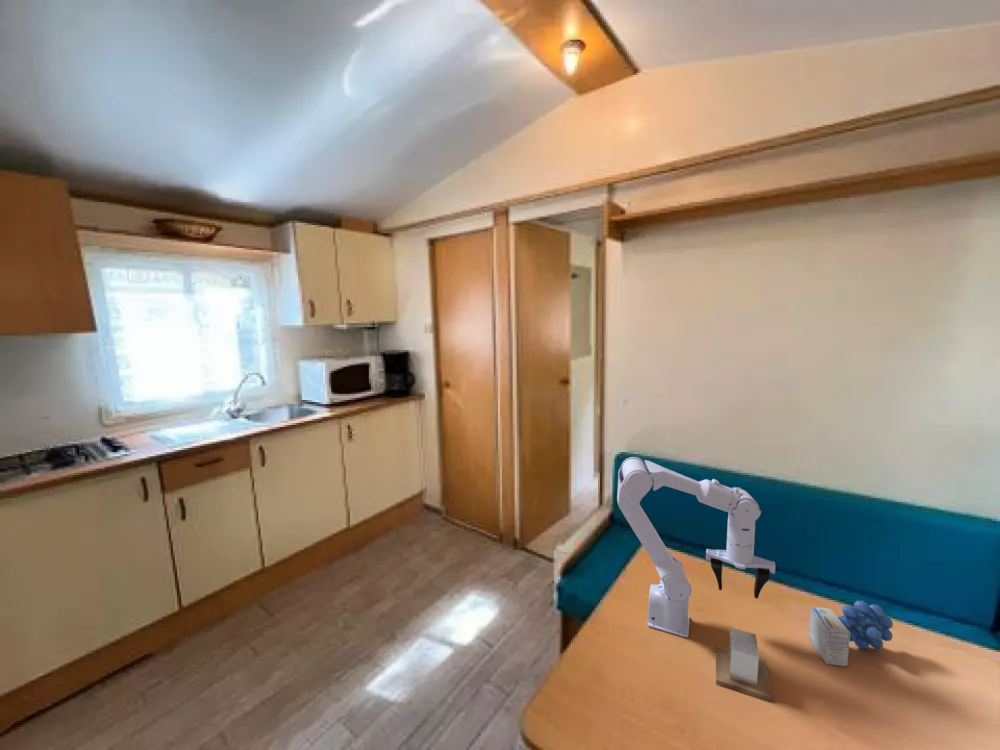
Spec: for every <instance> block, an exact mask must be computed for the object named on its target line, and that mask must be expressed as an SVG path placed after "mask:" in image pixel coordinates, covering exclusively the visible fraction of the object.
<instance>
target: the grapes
mask: <svg viewBox="0 0 1000 750" xmlns="http://www.w3.org/2000/svg"><path fill="white" fill-rule="evenodd" d="M853 605H854V606H852V605H850V604H845V605H842V607H841V610H842V611H841V612H842V613H843V614H842V615H839V616H837V617H838V618H839V619H840V621H841V622H842V623H843V624H844V626H845V627H846V628H847V629H848V631H849V632H850V641H849V642H854V644H855V646H856V647H858V648H859V649H862V650H867V649H869V647H870V646H871V648H873V649H875V650H880V649H882V648H884V642H890V641H892V639H893V633H892V631H891V630H890V629H892V628H893V627H894V624H893V623H894V622H893V621H892V619H891V618H890V617H889V616H888V615H885V611H884V610H883V608H882V607H881V606H880V605H878V604H870V605H869V604H868V603H867V602H865V601H864V600H856V601H855V602H854V604H853Z"/></svg>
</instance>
